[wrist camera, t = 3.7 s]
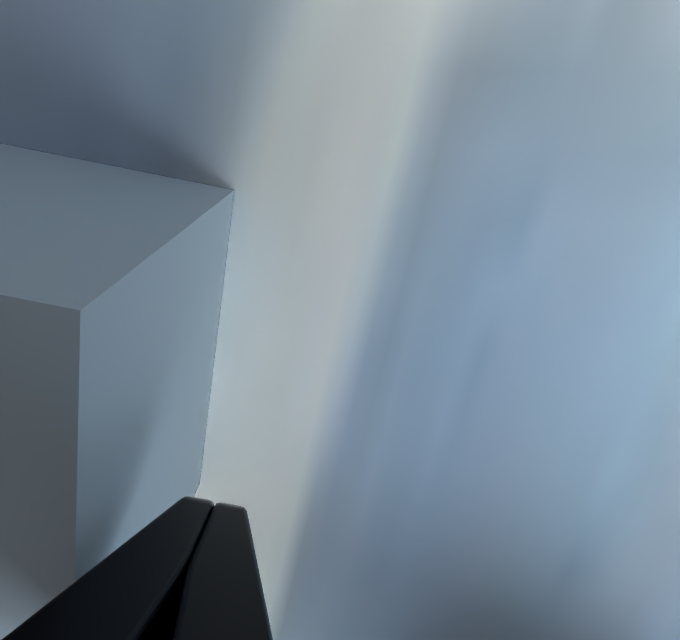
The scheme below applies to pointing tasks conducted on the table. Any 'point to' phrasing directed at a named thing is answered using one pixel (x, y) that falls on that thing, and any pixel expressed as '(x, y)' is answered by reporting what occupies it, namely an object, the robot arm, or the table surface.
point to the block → (99, 360)
